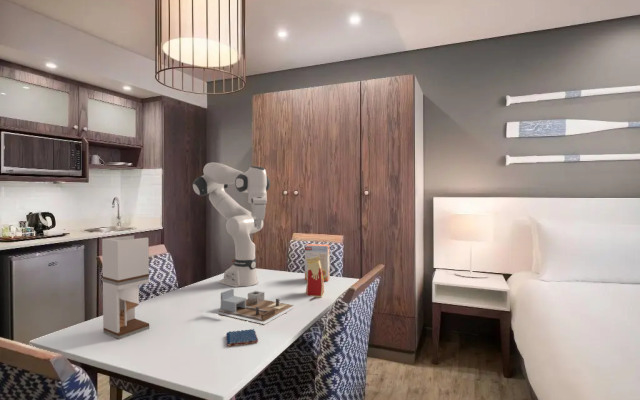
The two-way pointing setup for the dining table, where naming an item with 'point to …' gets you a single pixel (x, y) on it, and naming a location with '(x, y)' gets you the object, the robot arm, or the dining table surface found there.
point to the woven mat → (241, 337)
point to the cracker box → (324, 254)
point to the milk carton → (315, 278)
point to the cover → (231, 301)
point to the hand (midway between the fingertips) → (257, 228)
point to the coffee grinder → (123, 284)
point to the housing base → (259, 310)
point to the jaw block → (255, 297)
